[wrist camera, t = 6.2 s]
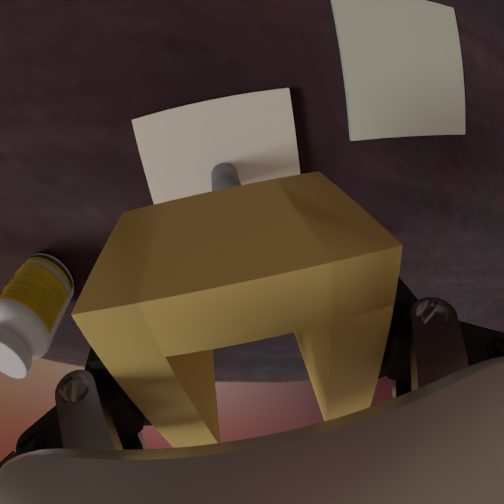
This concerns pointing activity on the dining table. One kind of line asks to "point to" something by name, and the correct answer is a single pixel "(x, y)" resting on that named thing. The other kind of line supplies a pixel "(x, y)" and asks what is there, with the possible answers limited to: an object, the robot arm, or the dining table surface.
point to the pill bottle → (32, 311)
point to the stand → (218, 144)
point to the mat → (400, 68)
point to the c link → (241, 296)
